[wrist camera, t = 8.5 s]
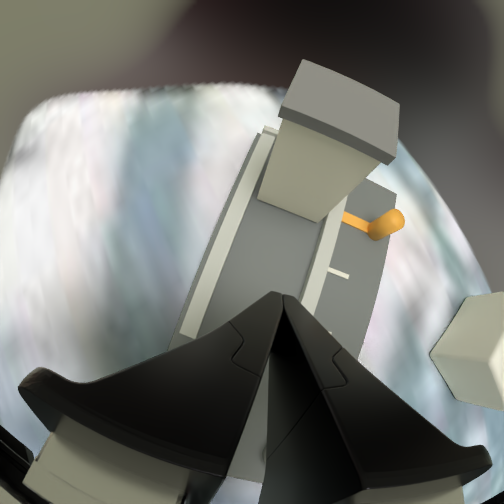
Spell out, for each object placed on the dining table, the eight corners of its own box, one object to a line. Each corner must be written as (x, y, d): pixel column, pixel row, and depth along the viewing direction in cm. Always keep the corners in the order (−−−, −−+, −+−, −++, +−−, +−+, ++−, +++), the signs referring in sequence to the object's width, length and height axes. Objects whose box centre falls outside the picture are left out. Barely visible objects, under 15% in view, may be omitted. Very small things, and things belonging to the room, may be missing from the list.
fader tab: (319, 226, 19) (395, 157, 9) (252, 200, 19) (281, 105, 9) (331, 185, 19) (399, 103, 10) (269, 160, 19) (302, 59, 10)
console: (296, 483, 16) (310, 509, 12) (139, 439, 15) (123, 463, 12) (391, 197, 21) (417, 179, 17) (256, 138, 21) (263, 107, 17)
